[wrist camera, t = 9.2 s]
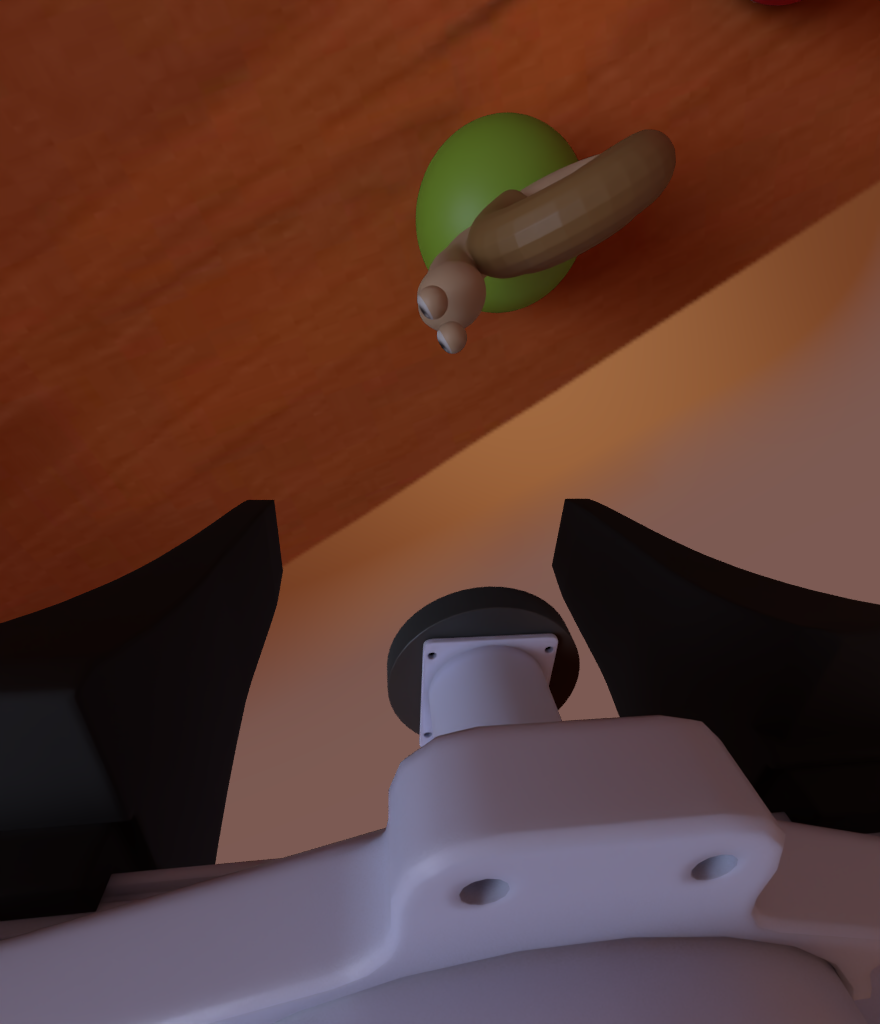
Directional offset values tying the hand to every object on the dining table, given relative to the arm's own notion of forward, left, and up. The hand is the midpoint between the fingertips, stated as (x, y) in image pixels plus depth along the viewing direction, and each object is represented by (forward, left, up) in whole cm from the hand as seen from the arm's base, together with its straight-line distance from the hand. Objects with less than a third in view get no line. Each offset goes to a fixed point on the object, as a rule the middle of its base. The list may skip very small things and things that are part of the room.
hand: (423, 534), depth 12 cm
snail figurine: (+7, -2, -11) cm, 13 cm away
